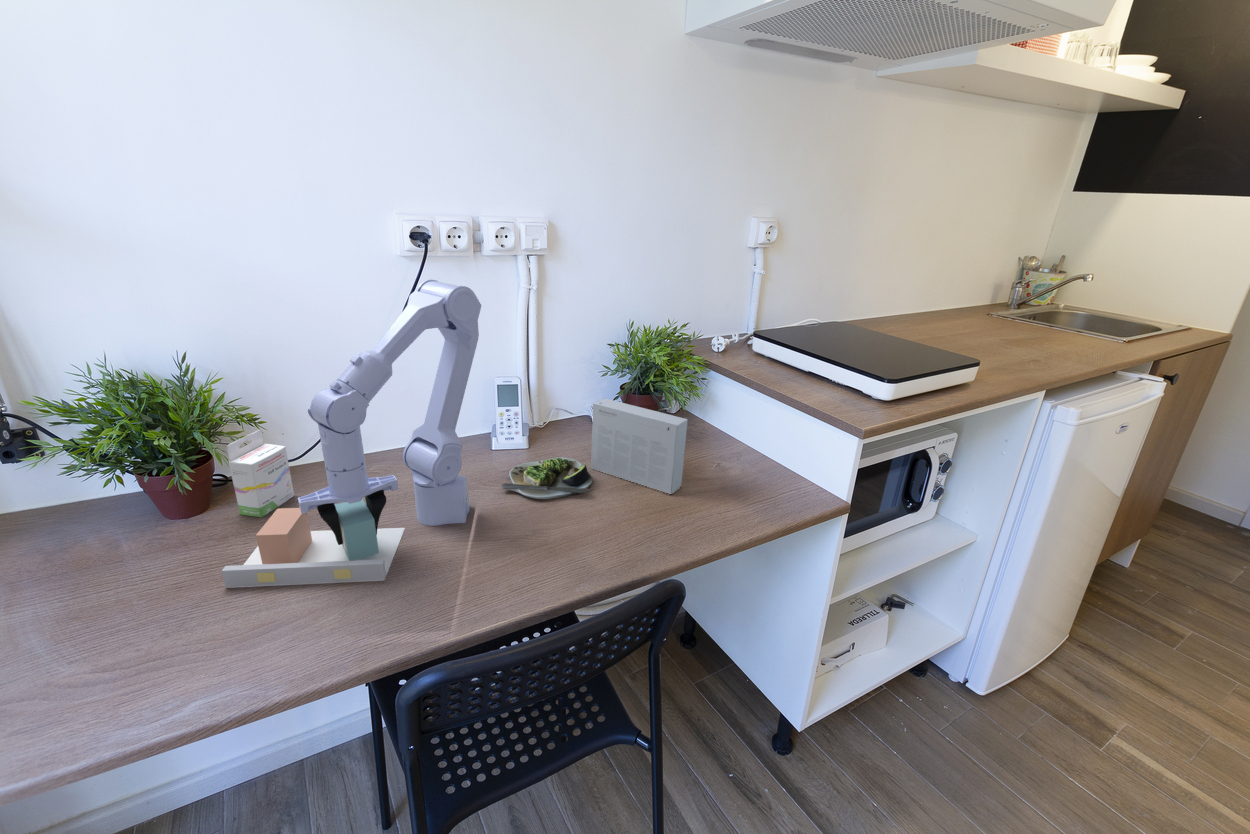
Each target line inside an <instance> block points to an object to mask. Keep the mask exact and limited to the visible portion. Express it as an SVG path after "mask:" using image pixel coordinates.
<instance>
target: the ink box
mask: <svg viewBox="0 0 1250 834" xmlns="http://www.w3.org/2000/svg"><path fill="white" fill-rule="evenodd" d="M249 441H251V442H250V443H248V444H247V445H244V446H243V447H240V446H241V445H243V444H244V443H245V442H249ZM226 451H227V456H228V466H229V471H230V474H231V480H232V483H233V488H234V492H235V497H236V498H235V499H236V502H237V506H238V510H239V514H240V515H244V516H250V517H258V518H264V517H265V516H266V515H268V514H269V513H271V512H273V511H275V510H276V509H278V508H279V507H280V506H281V505H283V504H284V503H286V502H287V501H289V500H290V499H291V498H293V497H295V492H294V487H293V482H292V481H293V480H292V474H291V471H290V465H289V459H288V453H287V448H286V446H285V445H279V444H271V443H264V438H263V432H262V429H258V430H256V431H254V432H252V433H249V434H247V435H244V436H243V437H241V438H239V439H237V440H235V441H233V442H230V443H229V444H227V446H226Z"/></svg>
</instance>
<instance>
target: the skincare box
mask: <svg viewBox="0 0 1250 834" xmlns="http://www.w3.org/2000/svg"><path fill="white" fill-rule="evenodd" d="M688 422H689V421H688V418H683V417H680V416H675V415H672V414H668V413H664V412H660V411H657V410H652V409H648V408H645V407H640V406H637V405H633V404H628V403H624V402H620V401H617V400H614V399H610V398H602V399H600V400H598V401H596V402H593V403H592V428H591V452H590V453H591V456H590V457H591V458H590V470H593V469H594V471H596V470H597V472H599V471H600V473H602V472H603V474H605V473H606V474H605V475H608V474H610V475H609V476H611V475H613V476H612V477H614V476H616V477H615V478H617V477H619V478H618V479H620V478H622V479H621V480H623V479H625V480H624V481H626V480H628V481H627V482H629V481H631V482H630V483H632V482H635V483H634V484H636V483H638V484H637V485H639V484H641V485H640V486H642V485H644V486H643V487H645V486H647V487H646V488H648V487H650V488H649V489H651V488H654V489H657V490H660V491H663V492H666V493H669V494H672V493H673V492H674V493H676V492H677V491H678V490H679V489H680V488H679V487H680V486H681V487H682V485H683V484H682V483H683V472H684V461H685V453H686V452H685V451H686V443H687V432H688V431H687V430H688ZM678 488H679V489H678ZM654 489H653V490H654ZM677 489H678V490H677ZM657 490H656V491H657ZM676 490H677V491H676ZM660 491H659V492H660ZM675 491H676V492H675ZM663 492H662V493H663ZM666 493H665V494H666ZM674 493H673V494H674ZM669 494H668V495H669ZM673 494H672V495H673Z"/></svg>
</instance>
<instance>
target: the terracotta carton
mask: <svg viewBox="0 0 1250 834" xmlns="http://www.w3.org/2000/svg"><path fill="white" fill-rule="evenodd" d="M309 521H310V520H309V516H308V512H307V513H303V514H302V513H301V511H300V508H299V507H290V508H289V507H286V508H285V507H282V508H279V507H277V508H276V509H275V510H274V512H273V514H272V515H271V516H270V517H269V518H268V519H267V521H266V522H265V523H264V525H262V527H261V528H260V529H259V531H258V532H257V533H256V535H255V538H256V542H257V547H259V552H260V556H261V560H262V564H283V563H298V562H299V560H300V559H301V557H302V556H303V554H304V552H305V551H306V549H307V548H308V546H309V545H310V543H311V542H312V537H311V531H312V530H311V527H310V523H309Z"/></svg>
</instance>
